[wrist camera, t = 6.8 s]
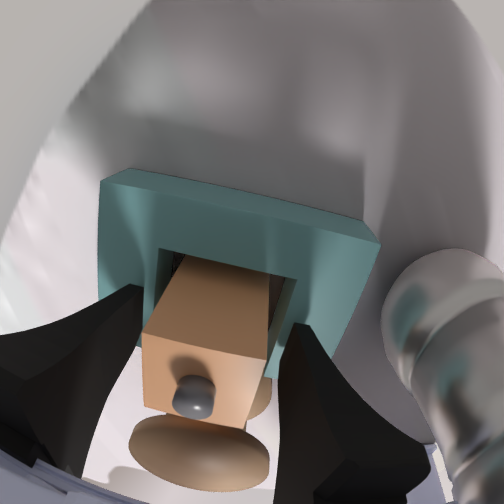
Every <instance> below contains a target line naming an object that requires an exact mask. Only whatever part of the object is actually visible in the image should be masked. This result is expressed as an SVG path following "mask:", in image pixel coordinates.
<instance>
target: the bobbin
mask: <svg viewBox="0 0 504 504" xmlns="http://www.w3.org/2000/svg"><path fill="white" fill-rule="evenodd" d="M271 394H272V378H269V377H264V370H263V373H262V376H261V379H260V382H259V385H258V388H257V391H256V394H255V397H254V400H253V402H252V405H251V408H250V411H249V414H248V417H247V419H246V422H245V425H244V428H243V429H241V428H235V427H229V426H224V425H219V424H214V423H209V422H204V421H199V420H195V419H190V418H186V417H182V416H178V415H174V414H170V413H166V415H158V416H153V417H149V418H146V419H144V420H142V421H140V422H139V423H138V424H137V425H136V426H135V428H134V430H133V432H132V435H131V438H130V440H129V450H130V453H131V455H132V456H133V458H134V459H135V460H136V461H137V462H138V463H139V464H140V465H141V466H142V467H143V468H145V469H146V470H148V471H149V472H151V473H152V474H154V475H156V476H158V477H160V478H162V479H164V480H166V481H169V482H171V483H174V484H176V485H179V486H183V487H187V488H191V489H196V490H201V491H209V492H233V491H240V490H245V489H249V488H252V487H254V486H257V485H259V484H260V483H262V482H263V481H264V480H265V479H266V478H267V476H268V474H269V461H270V457H269V453H268V450H267V449H266V447H265V446H264V445H263V444H262V443H261V442H260V441H259V440H258V439H256V438H255V437H254V436H252V435H250V434H249V433H247V432H246V423H247V420H249V419H252V418H254V417H256V416H257V415H259V414H260V413H262V412H263V411H264V410H265V409H266V407H267V406H268V404H269V402H270V400H271Z"/></svg>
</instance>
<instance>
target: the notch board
mask: <svg viewBox="0 0 504 504" xmlns="http://www.w3.org/2000/svg"><path fill="white" fill-rule="evenodd" d="M380 247H381V243H380V242H379V241H378V239H377V238H376V237H375V235H374V234H373V233H372V232H371V230H370V229H369V228H368V227H367V225H366V224H365V223H364V221H360V220H356V219H353V218H349V217H345V216H342V215H338V214H334V213H331V212H327V211H323V210H319V209H315V208H311V207H307V206H304V205H300V204H296V203H292V202H287V201H283V200H279V199H275V198H271V197H267V196H262V195H258V194H254V193H249V192H245V191H241V190H236V189H232V188H227V187H222V186H218V185H213V184H208V183H204V182H199V181H194V180H189V179H184V178H179V177H174V176H169V175H163V174H158V173H153V172H147V171H142V170H136V169H131V168H128V169H126V170H124V171H121V172H119V173H117V174H115V175H112V176H110V177H108V178H106V179H103V180H101V181H100V195H99V213H98V298H99V300H101V299H103V298H105V297H107V296H108V295H110V294H112V293H114V292H115V291H117V290H119V289H120V288H122V287H124V286H126V285H128V284H134V285H138V286H141V287H144V302H143V329H144V327H145V325H146V323H147V322H148V320H149V318H150V316H151V314H152V313H153V311H154V309H155V307H156V305H157V304H158V302H159V300H160V298H161V296H162V295H163V293H164V291H165V289H166V288H167V286H168V284H169V282H170V281H171V272H172V264H173V256H174V251H175V252H179V253H183V254H187V255H192V256H196V257H200V258H204V259H209V260H213V261H217V262H222V263H226V264H230V265H235V266H239V267H243V268H248V269H252V270H257V271H261V272H266V273H270V274H274V275H279V276H283V277H286V278H285V281H284V284H283V287H282V291H281V294H280V297H279V300H278V303H277V306H276V310H275V313H274V316H273V319H272V322H271V325H270V328H269V331H268V339H267V361H266V364H265V367H264V377H269V378H274V379H278V372H279V361H280V358H281V356H282V353H283V350H284V348H285V345H286V343H287V340H288V337H289V335H290V332H291V329H292V327H293V324H294V322H296V323H301V324H307V325H310V326H311V328H312V330H313V331H314V333H315V335H316V336H317V338H318V340H319V341H320V343H321V345H322V346H323V348H324V350H325V351H326V353H327V354H328V356H329V357H330V359H332V357H333V355H334V353H335V351H336V349H337V346H338V344H339V342H340V340H341V338H342V336H343V334H344V332H345V330H346V328H347V325H348V323H349V321H350V319H351V317H352V315H353V312H354V310H355V308H356V306H357V303H358V301H359V299H360V297H361V294H362V292H363V290H364V287H365V285H366V282H367V280H368V278H369V275H370V273H371V270H372V268H373V265H374V263H375V260H376V258H377V255H378V253H379V250H380ZM143 329H142V331H143ZM136 346H138V347H141V348H142V332H141V334H140V337H139V339H138V342H137V344H136Z"/></svg>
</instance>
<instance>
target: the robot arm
mask: <svg viewBox="0 0 504 504" xmlns="http://www.w3.org/2000/svg"><path fill="white" fill-rule="evenodd" d="M143 302H144V287H141V286H138V285H134V284H128V285H126V286H124V287H122V288H120V289H119V290H117V291H115V292H114V293H112V294H110V295H108V296H107V297H105V298H103V299H101V300H99V301H98V302H96V303H94V304H92V305H90V306H88V307H86V308H84V309H82V310H80V311H78V312H76V313H74V314H72V315H70V316H68V317H65V318H63V319H60V320H58V321H55V322H53V323H50V324H47V325H43V326H40V327H36V328H33V329H30V330H26V331H21V332H17V333H11V334H5V335H0V504H149V503H146V502H142V501H139V500H136V499H133V498H129V497H127V496H123V495H121V494H117V493H115V492H112V491H109V490H107V489H104V488H101V487H99V486H96V485H94V484H91V483H89V482H86V481H84V480H82V479H81V478H82V474H83V469H84V466H85V462H86V458H87V454H88V451H89V448H90V444H91V441H92V438H93V435H94V432H95V429H96V426H97V423H98V421H99V418H100V415H101V413H102V410H103V408H104V405H105V402H106V400H107V398H108V396H109V394H110V392H111V390H112V388H113V386H114V384H115V383H116V381H117V379H118V377H119V375H120V374H121V372H122V370H123V368H124V367H125V365H126V363H127V361H128V360H129V358H130V356H131V354H132V352H133V351H134V349H135V346H136V344H137V342H138V339H139V337H140V334H141V332H142V329H143ZM278 403H279V423H280V445H279V457H278V468H277V477H276V485H275V494H274V500H273V504H458V501H452V502H448V503H446V501H445V497H444V493H443V489H442V486H441V482H440V479H439V476H438V472H437V469H436V465H435V462H434V459H433V456H432V453H433V452H434V451H435V450H436V449H437V446H436V445H435V444H430V445H422V444H421V443H419V442H417V441H416V440H414V439H412V438H411V437H409V436H407V435H406V434H404V433H403V432H401V431H400V430H398V429H397V428H396V427H394V426H393V425H392V424H390V423H389V422H388V421H386V420H385V419H384V418H383V417H381V416H380V415H379V414H378V413H377V412H376V411H375V410H374V409H372V408H371V407H370V406H369V405H368V404H367V403H366V402H365V401H364V400H363V399H362V398H361V397H360V396H359V395H358V394H357V392H356V391H355V390H354V389H353V388H352V387H351V386H350V385H349V383H348V382H347V381H346V380H345V378H344V377H343V376H342V374H341V373H340V372H339V370H338V369H337V368H336V366H335V365H334V363H333V362H332V360H331V359H330V357H329V356H328V354H327V353H326V351H325V350H324V348H323V346H322V345H321V343H320V341H319V340H318V338H317V336H316V335H315V333H314V331H313V330H312V328H311V326H310V325H307V324H301V323H296V322H294V324H293V327H292V329H291V332H290V335H289V337H288V340H287V343H286V345H285V348H284V350H283V353H282V356H281V358H280V361H279V372H278Z"/></svg>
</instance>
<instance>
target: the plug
mask: <svg viewBox="0 0 504 504" xmlns="http://www.w3.org/2000/svg"><path fill="white" fill-rule="evenodd" d="M269 275H270V273H266V272H261V271H257V270H252V269H248V268H243V267H239V266H235V265H230V264H226V263H222V262H217V261H213V260H209V259H204V258H200V257H196V256H192V255H187V254H186V255H185V257H184V258H183V260H182V262H181V263H180V265H179V267H178V269H177V270H176V272H175V274H174V276H173V277H172V279H171V281H170V282H169V284H168V286H167V288H166V289H165V291H164V293H163V295H162V296H161V298H160V300H159V302H158V304H157V305H156V307H155V309H154V311H153V313H152V314H151V316H150V318H149V320H148V322H147V323H146V325H145V327H144V329H143V331H142V377H143V398H144V406H145V407H148V408H152V409H155V410H159V411H162V412H166V413H170V414H174V415H178V416H182V417H186V418H190V419H195V420H199V421H204V422H209V423H214V424H219V425H224V426H229V427H235V428H241V429H243V428H244V425H245V422H246V419H247V417H248V414H249V411H250V408H251V405H252V402H253V400H254V397H255V394H256V391H257V388H258V385H259V382H260V379H261V376H262V373H263V370H264V367H265V364H266V361H267V339H268V309H269Z"/></svg>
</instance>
